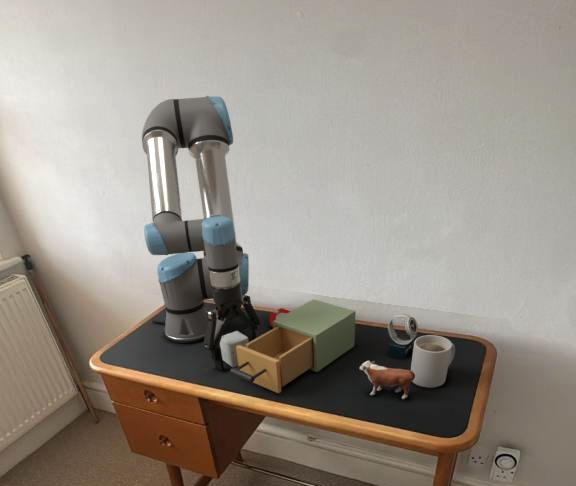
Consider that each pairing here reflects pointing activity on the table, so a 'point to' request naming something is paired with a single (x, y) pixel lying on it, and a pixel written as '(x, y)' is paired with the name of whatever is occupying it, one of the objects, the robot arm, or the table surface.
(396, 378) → the bull figurine
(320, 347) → the cabinet
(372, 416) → the table surface
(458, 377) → the table surface
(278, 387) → the drawer
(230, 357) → the product box
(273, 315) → the tracker holder
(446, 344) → the mug
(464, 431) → the table surface
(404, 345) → the watch
